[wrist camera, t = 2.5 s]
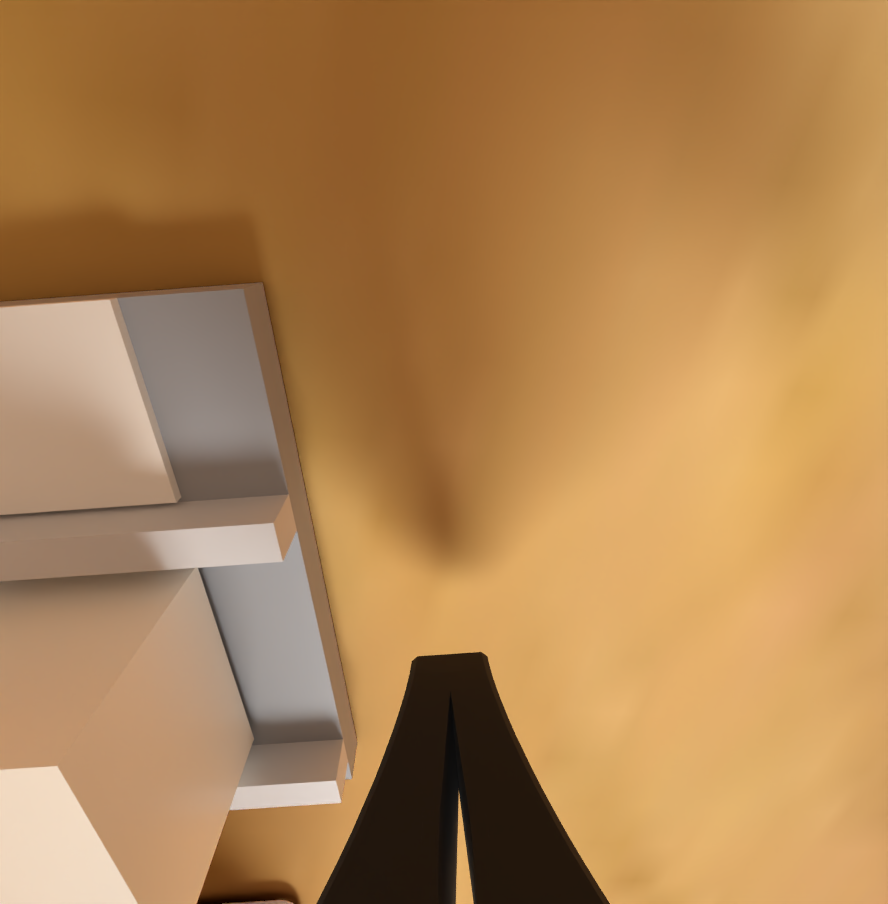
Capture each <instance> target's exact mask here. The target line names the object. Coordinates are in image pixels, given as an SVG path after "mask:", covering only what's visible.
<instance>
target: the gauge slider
mask: <svg viewBox="0 0 888 904" xmlns="http://www.w3.org/2000/svg"><path fill="white" fill-rule="evenodd" d="M253 740H254V737H253V734H252V731H251V728H250V725H249V722H248V719H247V715H246V712H245V709H244V706H243V703H242V700H241V697H240V694H239V691H238V688H237V685H236V682H235V679H234V676H233V673H232V670H231V667H230V664H229V661H228V658H227V655H226V652H225V649H224V646H223V643H222V640H221V637H220V633H219V630H218V627H217V624H216V621H215V618H214V615H213V612H212V609H211V606H210V603H209V600H208V597H207V594H206V591H205V588H204V585H203V582H202V579H201V576H200V573H199V570H198V568H186V569H172V570H158V571H143V572H129V573H115V574H100V575H86V576H72V577H57V578H43V579H28V580H14V581H0V904H197V901H198V898H199V896H200V893H201V890H202V887H203V884H204V881H205V878H206V875H207V873H208V870H209V867H210V864H211V861H212V858H213V855H214V852H215V850H216V847H217V844H218V841H219V838H220V835H221V832H222V829H223V826H224V824H225V821H226V818H227V815H228V812H229V809H230V806H231V803H232V801H233V798H234V795H235V792H236V789H237V786H238V783H239V780H240V778H241V775H242V772H243V769H244V766H245V763H246V760H247V757H248V755H249V752H250V749H251V746H252V743H253Z"/></svg>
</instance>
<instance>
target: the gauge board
mask: <svg viewBox="0 0 888 904" xmlns="http://www.w3.org/2000/svg"><path fill="white" fill-rule="evenodd" d="M186 568H198V570H199V573H200V576H201V579H202V582H203V585H204V588H205V591H206V594H207V597H208V600H209V603H210V606H211V609H212V612H213V615H214V618H215V621H216V624H217V627H218V630H219V633H220V637H221V640H222V643H223V646H224V649H225V652H226V655H227V658H228V661H229V664H230V667H231V670H232V673H233V676H234V679H235V682H236V685H237V688H238V691H239V694H240V697H241V700H242V703H243V706H244V709H245V712H246V715H247V719H248V722H249V725H250V728H251V731H252V734H253V737H254V740H253V743H252V746H251V749H250V752H249V755H248V757H247V760H246V763H245V766H244V769H243V772H242V775H241V778H240V780H239V783H238V786H237V789H236V792H235V795H234V798H233V801H232V803H231V806H230V809H229V810H240V809H256V808H271V807H286V806H301V805H316V804H331V803H341V802H342V796H343V789H344V783H345V779H352V775H353V768H354V761H355V755H356V748H357V739H356V734H355V729H354V724H353V719H352V714H351V709H350V705H349V700H348V695H347V690H346V685H345V680H344V675H343V670H342V666H341V661H340V656H339V651H338V646H337V641H336V636H335V632H334V627H333V622H332V617H331V612H330V607H329V602H328V598H327V593H326V588H325V583H324V578H323V573H322V568H321V564H320V559H319V554H318V549H317V544H316V539H315V534H314V530H313V525H312V520H311V515H310V510H309V505H308V500H307V495H306V491H305V486H304V481H303V476H302V471H301V466H300V461H299V457H298V452H297V447H296V442H295V437H294V432H293V427H292V423H291V418H290V413H289V408H288V403H287V398H286V393H285V389H284V384H283V379H282V374H281V369H280V364H279V359H278V355H277V350H276V345H275V340H274V335H273V330H272V325H271V320H270V316H269V311H268V306H267V301H266V296H265V291H264V286H263V282H260V283H246V284H233V285H219V286H206V287H192V288H178V289H165V290H151V291H138V292H124V293H111V294H97V295H84V296H70V297H57V298H43V299H29V300H16V301H2V302H0V581H14V580H28V579H43V578H57V577H72V576H86V575H100V574H115V573H129V572H143V571H158V570H172V569H186Z"/></svg>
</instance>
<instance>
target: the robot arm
mask: <svg viewBox="0 0 888 904" xmlns="http://www.w3.org/2000/svg"><path fill="white" fill-rule="evenodd" d="M459 794H460V802H461V809H462V817H463V825H464V832H465V840H466V847H467V855H468V863H469V870H470V878H471V885H472V893H473V900H474V904H610V903H609V902H608V900H607V899H606V897H605V895H604V894H603V892H602V891H601V889H600V888H599V886H598V884H597V883H596V881H595V879H594V878H593V876H592V875H591V873H590V871H589V870H588V868H587V866H586V865H585V863H584V862H583V860H582V858H581V857H580V855H579V853H578V852H577V850H576V848H575V847H574V845H573V843H572V841H571V840H570V838H569V836H568V835H567V833H566V831H565V829H564V828H563V826H562V824H561V822H560V821H559V819H558V817H557V815H556V813H555V811H554V810H553V808H552V806H551V804H550V802H549V800H548V799H547V797H546V795H545V793H544V791H543V789H542V788H541V786H540V784H539V782H538V780H537V778H536V776H535V774H534V772H533V770H532V768H531V766H530V764H529V762H528V760H527V758H526V756H525V753H524V751H523V749H522V747H521V745H520V743H519V741H518V739H517V737H516V735H515V732H514V730H513V728H512V726H511V723H510V721H509V719H508V716H507V714H506V712H505V709H504V707H503V704H502V702H501V699H500V697H499V694H498V691H497V688H496V686H495V683H494V680H493V676H492V673H491V670H490V666H489V662H488V657H487V656H486V655H485V654H483V653H482V652H477V653H462V654H447V655H432V656H417V657H416V658H415V659H414V660H413V661H412V664H411V670H410V675H409V679H408V683H407V687H406V691H405V695H404V698H403V701H402V705H401V708H400V711H399V714H398V717H397V720H396V723H395V726H394V729H393V732H392V735H391V737H390V740H389V743H388V746H387V748H386V751H385V754H384V756H383V759H382V762H381V764H380V767H379V770H378V772H377V775H376V777H375V780H374V782H373V784H372V787H371V789H370V791H369V794H368V796H367V798H366V801H365V803H364V805H363V807H362V810H361V812H360V814H359V817H358V819H357V821H356V824H355V826H354V828H353V830H352V833H351V835H350V837H349V839H348V841H347V843H346V845H345V848H344V850H343V852H342V854H341V856H340V858H339V860H338V862H337V864H336V866H335V868H334V870H333V872H332V874H331V876H330V878H329V880H328V882H327V884H326V886H325V888H324V890H323V892H322V894H321V896H320V898H319V900H318V902H317V904H456V869H457V834H458V796H459ZM224 904H294V903H292V902H290V901H287V900H270V901H255V902H239V903H224Z"/></svg>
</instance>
